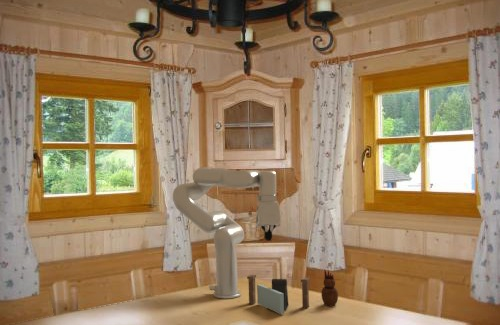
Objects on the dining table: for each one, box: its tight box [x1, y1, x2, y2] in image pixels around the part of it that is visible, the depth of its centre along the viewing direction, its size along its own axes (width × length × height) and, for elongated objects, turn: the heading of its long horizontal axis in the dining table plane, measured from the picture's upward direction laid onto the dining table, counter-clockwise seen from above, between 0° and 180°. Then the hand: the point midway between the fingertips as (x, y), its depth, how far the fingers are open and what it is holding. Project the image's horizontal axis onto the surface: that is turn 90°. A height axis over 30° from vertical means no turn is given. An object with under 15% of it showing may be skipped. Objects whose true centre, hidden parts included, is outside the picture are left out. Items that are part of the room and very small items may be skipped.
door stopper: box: [270, 278, 289, 312], centre depth 217 cm, size 9×6×12 cm, turn 167°
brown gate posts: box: [246, 274, 310, 309], centre depth 220 cm, size 26×4×12 cm, turn 71°
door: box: [256, 283, 285, 315], centre depth 215 cm, size 18×3×8 cm, turn 29°
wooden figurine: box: [321, 269, 339, 307], centre depth 219 cm, size 7×6×15 cm
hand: (268, 240), depth 230 cm, fingers closed
